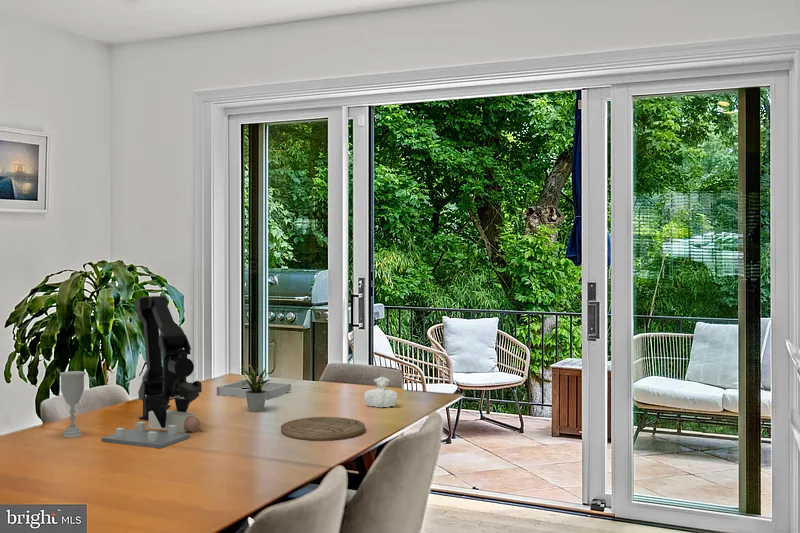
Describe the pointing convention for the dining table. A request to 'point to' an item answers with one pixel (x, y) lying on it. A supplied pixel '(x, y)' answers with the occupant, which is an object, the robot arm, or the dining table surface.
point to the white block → (176, 421)
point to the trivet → (322, 428)
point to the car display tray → (236, 390)
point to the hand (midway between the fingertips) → (172, 424)
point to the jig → (146, 436)
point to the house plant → (255, 390)
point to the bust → (381, 394)
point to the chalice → (72, 396)
